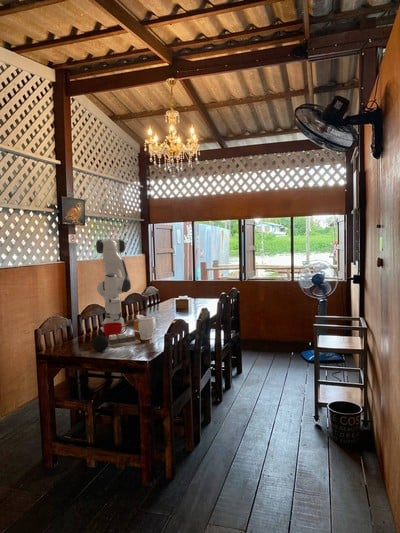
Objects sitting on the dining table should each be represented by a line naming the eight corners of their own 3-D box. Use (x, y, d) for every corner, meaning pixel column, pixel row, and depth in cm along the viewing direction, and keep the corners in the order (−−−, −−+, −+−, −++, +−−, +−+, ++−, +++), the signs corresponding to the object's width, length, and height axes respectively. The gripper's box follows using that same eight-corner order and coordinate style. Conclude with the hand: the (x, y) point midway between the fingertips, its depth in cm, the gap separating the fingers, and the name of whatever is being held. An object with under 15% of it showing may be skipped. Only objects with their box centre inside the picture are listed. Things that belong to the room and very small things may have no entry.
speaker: (111, 351, 243) (111, 335, 243) (98, 354, 236) (97, 338, 235) (102, 348, 250) (102, 333, 249) (89, 351, 243) (88, 336, 242)
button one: (109, 339, 258) (109, 335, 258) (115, 338, 260) (114, 334, 260) (111, 341, 255) (111, 336, 254) (117, 340, 257) (117, 335, 256)
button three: (126, 339, 264) (126, 335, 264) (132, 338, 266) (131, 334, 266) (128, 340, 261) (128, 336, 261) (134, 340, 263) (134, 335, 263)
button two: (117, 338, 261) (117, 333, 261) (123, 337, 263) (123, 332, 263) (120, 339, 258) (119, 334, 258) (125, 338, 260) (125, 334, 260)
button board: (103, 344, 260) (103, 338, 259) (134, 339, 271) (134, 333, 271) (108, 348, 250) (108, 341, 250) (140, 342, 262) (140, 336, 262)
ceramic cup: (123, 340, 269) (122, 326, 268) (100, 340, 272) (99, 326, 272) (130, 336, 282) (129, 322, 281) (108, 335, 285) (107, 322, 284)
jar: (139, 341, 267) (138, 319, 266) (137, 337, 277) (137, 316, 276) (155, 339, 270) (154, 318, 269) (152, 336, 280) (152, 315, 279)
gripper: (102, 297, 263) (102, 317, 264) (112, 300, 246) (113, 322, 246) (111, 296, 266) (111, 316, 267) (121, 299, 249) (122, 321, 250)
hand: (112, 319), depth 256 cm, fingers closed
